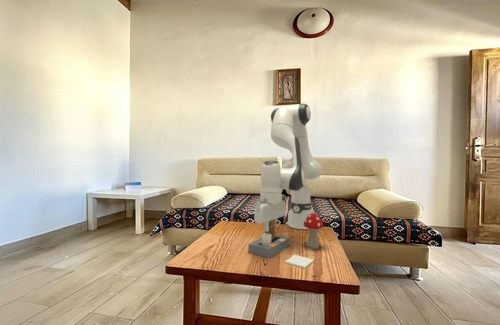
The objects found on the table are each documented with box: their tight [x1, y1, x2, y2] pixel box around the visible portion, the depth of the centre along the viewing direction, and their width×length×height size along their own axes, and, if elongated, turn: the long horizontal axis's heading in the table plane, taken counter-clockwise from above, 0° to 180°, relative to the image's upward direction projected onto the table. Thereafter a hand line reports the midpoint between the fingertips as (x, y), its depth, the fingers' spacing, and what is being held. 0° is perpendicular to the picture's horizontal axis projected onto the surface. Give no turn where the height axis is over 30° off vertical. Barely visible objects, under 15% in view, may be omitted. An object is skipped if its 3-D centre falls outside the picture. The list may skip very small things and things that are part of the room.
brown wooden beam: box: [264, 219, 276, 240], centre depth 104 cm, size 3×3×10 cm
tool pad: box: [285, 254, 314, 269], centre depth 90 cm, size 8×8×1 cm
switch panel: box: [248, 234, 291, 259], centre depth 103 cm, size 18×10×4 cm, turn 144°
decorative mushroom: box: [304, 212, 324, 250], centre depth 107 cm, size 10×9×15 cm
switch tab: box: [261, 232, 271, 246], centre depth 101 cm, size 3×3×5 cm
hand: (270, 229), depth 103 cm, fingers closed on brown wooden beam, 3 cm apart
